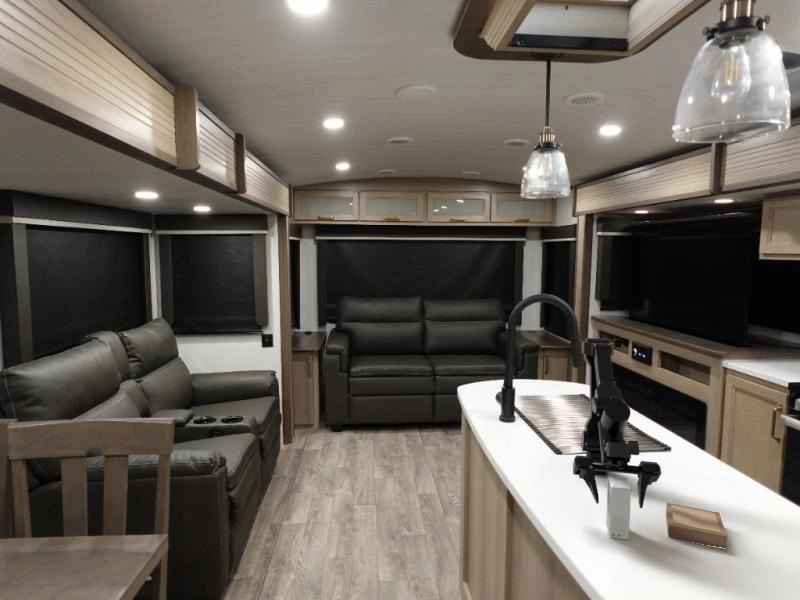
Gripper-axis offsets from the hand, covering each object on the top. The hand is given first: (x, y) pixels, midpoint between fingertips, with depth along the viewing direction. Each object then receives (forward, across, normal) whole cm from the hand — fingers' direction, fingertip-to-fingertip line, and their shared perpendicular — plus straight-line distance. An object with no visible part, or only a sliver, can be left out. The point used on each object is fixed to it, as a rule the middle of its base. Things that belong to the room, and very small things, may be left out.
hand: (619, 505), depth 112 cm
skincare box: (+4, 0, +6) cm, 7 cm away
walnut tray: (+1, +17, +9) cm, 19 cm away
